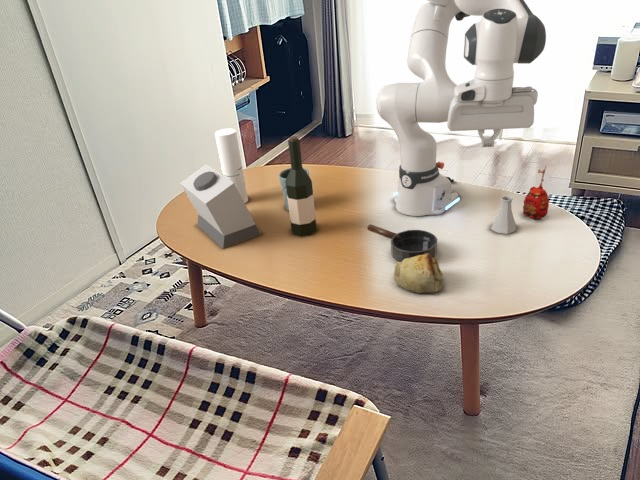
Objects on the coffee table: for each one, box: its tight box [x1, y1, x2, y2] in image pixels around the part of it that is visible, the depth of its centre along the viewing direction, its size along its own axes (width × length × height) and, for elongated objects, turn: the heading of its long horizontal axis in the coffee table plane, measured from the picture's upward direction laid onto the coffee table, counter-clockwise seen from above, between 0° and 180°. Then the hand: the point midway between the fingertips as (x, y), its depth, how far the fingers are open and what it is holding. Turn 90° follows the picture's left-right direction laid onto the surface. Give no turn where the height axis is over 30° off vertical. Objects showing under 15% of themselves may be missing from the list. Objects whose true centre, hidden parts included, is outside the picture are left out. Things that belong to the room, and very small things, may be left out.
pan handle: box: [366, 223, 400, 241], centre depth 167 cm, size 12×2×2 cm, turn 44°
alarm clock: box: [179, 163, 262, 249], centre depth 178 cm, size 20×16×20 cm
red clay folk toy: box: [522, 165, 550, 221], centre depth 170 cm, size 8×7×15 cm
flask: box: [490, 195, 517, 235], centre depth 166 cm, size 7×7×10 cm
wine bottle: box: [285, 135, 318, 238], centre depth 171 cm, size 8×8×30 cm
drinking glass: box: [278, 167, 310, 211], centre depth 191 cm, size 10×10×12 cm
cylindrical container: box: [214, 127, 249, 204], centre depth 194 cm, size 7×7×25 cm
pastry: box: [393, 253, 443, 294], centre depth 148 cm, size 14×12×8 cm
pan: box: [390, 229, 438, 262], centre depth 160 cm, size 13×13×4 cm
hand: (487, 146), depth 140 cm, fingers closed
